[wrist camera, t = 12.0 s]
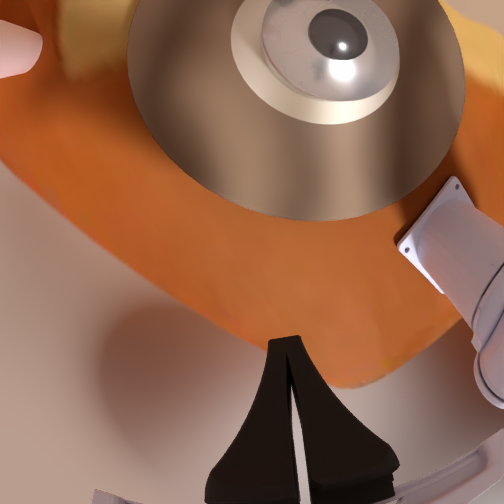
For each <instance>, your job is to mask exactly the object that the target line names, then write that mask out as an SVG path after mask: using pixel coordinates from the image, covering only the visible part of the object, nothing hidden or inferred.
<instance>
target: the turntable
mask: <svg viewBox="0 0 504 504" xmlns="http://www.w3.org/2000/svg"><path fill="white" fill-rule="evenodd" d="M271 1H272V0H140V2H139V4H138V6H137V8H136V11H135V13H134V16H133V19H132V23H131V27H130V31H129V36H128V46H127V66H128V77H129V81H130V86H131V90H132V94H133V98H134V100H135V103H136V105H137V108H138V110H139V112H140V115H141V117H142V119H143V121H144V123H145V124H146V126H147V128H148V129H149V131H150V133H151V134H152V136H153V138H154V139H155V140H156V142H157V143H158V144H159V145H160V147H161V148H162V149H163V150H164V152H165V153H166V154H167V155H168V157H169V158H170V159H172V160H173V161H174V162H175V163H176V164H177V165H178V166H179V167H180V168H181V169H182V170H183V171H184V172H185V173H186V174H188V175H189V176H190V177H192V178H193V179H194V180H196V181H197V182H198V183H200V184H201V185H202V186H204V187H205V188H207V189H208V190H210V191H212V192H214V193H215V194H217V195H219V196H221V197H222V198H224V199H226V200H228V201H230V202H233V203H235V204H237V205H240V206H242V207H244V208H247V209H249V210H253V211H256V212H259V213H263V214H266V215H269V216H274V217H279V218H285V219H291V220H301V221H332V220H342V219H347V218H352V217H358V216H362V215H365V214H368V213H371V212H374V211H377V210H380V209H382V208H384V207H386V206H388V205H390V204H393V203H395V202H397V201H398V200H400V199H401V198H403V197H405V196H406V195H408V194H409V193H411V192H412V191H413V190H415V189H416V188H417V187H418V186H419V185H421V184H422V183H423V182H424V181H425V180H426V179H427V178H428V177H429V176H430V175H431V174H432V173H433V172H434V170H435V169H436V168H437V167H438V166H439V164H440V163H441V161H442V160H443V158H444V157H445V155H446V154H447V152H448V151H449V149H450V147H451V145H452V143H453V141H454V138H455V136H456V134H457V131H458V128H459V125H460V122H461V118H462V113H463V107H464V102H465V72H464V64H463V59H462V54H461V50H460V46H459V43H458V40H457V37H456V34H455V32H454V29H453V27H452V25H451V23H450V21H449V19H448V17H447V15H446V13H445V11H444V9H443V8H442V6H441V5H440V3H439V2H438V0H372V1H373V2H374V3H375V4H376V5H377V6H378V7H379V8H380V9H381V10H382V11H383V12H384V13H385V15H386V16H387V18H388V19H389V21H390V22H391V24H392V26H393V28H394V31H395V33H396V36H397V40H398V45H399V61H398V66H397V69H396V72H395V74H394V76H393V78H392V79H391V81H390V82H389V84H388V85H387V86H386V87H385V88H384V89H382V90H381V91H380V92H378V93H377V94H375V95H373V96H371V97H368V98H365V99H361V100H356V101H343V102H322V101H316V100H312V99H308V98H306V97H303V96H300V95H299V94H297V93H295V92H293V91H291V90H290V89H288V88H287V87H285V86H284V85H283V84H282V83H281V82H279V81H278V79H277V78H276V77H275V76H274V75H273V74H272V73H271V71H270V70H269V68H268V67H267V65H266V63H265V61H264V58H263V56H262V52H261V48H260V33H261V28H262V23H263V18H264V14H265V12H266V9H267V7H268V6H269V4H270V2H271Z"/></svg>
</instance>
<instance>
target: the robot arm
mask: <svg viewBox="0 0 504 504" xmlns="http://www.w3.org/2000/svg"><path fill="white" fill-rule="evenodd" d="M456 184H457V186H456ZM455 186H456V188H455ZM405 248H407V249H406V250H405ZM397 249H398V250H399V251H400V252H401V253H402V254H403V255H404V256H405V257H406V258H407V259H408V260H409V261H410V262H411V263H412V264H413V265H414V266H415V267H416V268H417V269H418V270H419V271H420V272H421V273H422V274H423V275H424V276H425V277H426V278H427V279H428V280H429V281H430V282H431V283H432V284H433V285H434V286H435V287H436V288H437V289H438V290H439V292H440V293H442V294H445V295H446V296H447V297H448V299H449V300H450V301H451V302H452V304H453V305H454V306H455V308H456V309H457V310H458V311H459V313H460V314H461V315H462V317H463V318H464V319H465V321H466V322H467V323H468V325H469V326H470V328H471V329H472V330H473V332H474V336H473V339H472V341H471V343H472V344H473V345H474V347H475V349H476V350H477V352H478V353H477V355H476V357H475V361H474V375H475V380H476V382H477V385H478V387H479V389H480V391H481V392H482V394H483V395H484V397H485V398H486V399H487V400H488V401H489V402H491V403H492V404H493V405H495V406H497V407H499V408H502V409H504V227H503V226H501V225H500V224H499V223H497V222H496V221H494V220H493V219H491V218H490V217H489V216H487V215H486V214H484V213H483V212H481V211H480V210H478V209H477V208H475V206H474V205H473V203H472V201H471V199H470V198H469V196H468V194H467V193H466V191H465V189H464V188H463V186H462V185H461V183H460V181H459V180H458V178H457V177H455V176H451V177H450V178H449V179H448V181H447V182H446V183H445V185H444V186H443V187H442V189H441V190H440V192H439V193H438V194H437V195H436V197H435V198H434V199H433V201H432V202H431V203H430V205H429V206H428V207H427V208H426V210H425V211H424V212H423V213H422V215H421V216H420V217H419V218H418V220H417V221H416V222H415V223H414V224H413V226H412V227H411V228H410V229H409V230H408V232H407V233H406V234H405V235H404V236H403V238H402V239H401V240H400V241H399V242H398V244H397ZM291 386H292V390H293V394H294V398H295V403H296V406H297V411H298V415H299V419H300V423H301V428H302V434H303V442H304V450H305V457H306V466H307V473H308V483H309V492H310V501H311V504H385V503H388V502H391V501H394V500H396V499H399V498H400V499H399V500H398V501H397V503H396V504H469V503H470V502H471V501H473V500H474V499H476V498H477V497H479V496H480V495H481V494H482V493H484V492H485V491H487V490H488V489H489V488H491V487H492V486H493V485H494V484H496V483H497V482H498V481H500V480H501V479H502V478H503V477H504V428H502V429H501V430H499V431H498V432H497V433H495V434H494V435H492V436H491V437H489V438H488V439H486V440H485V441H484V442H482V443H481V444H480V445H478V447H476V448H475V449H473V450H472V451H470V452H468V453H467V454H465V455H463V456H461V457H460V458H458V459H456V460H454V461H452V462H451V463H449V464H447V465H445V466H443V467H441V468H439V469H437V470H435V471H433V472H430V473H428V474H426V475H424V476H422V477H419V478H417V479H415V480H412V481H410V482H407V483H405V484H402V485H399V486H397V487H393V483H392V481H393V480H394V478H393V474H392V473H393V472H394V471H395V470H397V468H398V467H399V466H400V464H399V461H398V458H397V456H396V454H395V453H394V451H393V449H392V448H391V447H390V445H389V444H387V443H386V442H385V441H383V440H382V439H380V438H379V437H378V436H376V435H375V434H374V433H373V432H371V431H370V430H369V429H368V428H367V427H366V426H365V425H363V424H362V423H361V422H360V421H359V420H358V419H357V418H356V417H355V416H354V415H353V414H352V413H351V412H350V411H349V410H348V409H347V408H346V407H345V406H344V405H343V404H342V403H341V401H340V400H339V399H338V398H337V397H336V395H335V394H334V393H333V392H332V390H331V389H330V388H329V386H328V385H327V384H326V382H325V381H324V380H323V378H322V377H321V375H320V374H319V372H318V370H317V369H316V367H315V366H314V364H313V362H312V361H311V359H310V357H309V355H308V353H307V351H306V349H305V347H304V345H303V342H302V340H301V336H299V335H295V336H289V337H283V338H277V339H270V340H269V341H268V352H267V358H266V363H265V368H264V371H263V375H262V379H261V382H260V385H259V388H258V391H257V394H256V397H255V399H254V402H253V404H252V406H251V409H250V411H249V413H248V415H247V418H246V419H245V421H244V423H243V425H242V427H241V429H240V431H239V432H238V434H237V436H236V437H235V439H234V440H233V442H232V444H231V445H230V447H229V448H228V450H227V451H226V453H225V454H224V455H223V457H222V458H221V459H220V460H219V462H218V463H217V464H216V465H215V467H214V468H213V469H212V470H211V472H210V474H209V477H208V479H207V483H206V487H205V503H207V504H300V501H301V500H300V491H299V483H298V474H297V465H296V457H295V449H294V440H293V430H292V401H291V400H292V399H291ZM92 504H142V503H137V502H133V501H129V500H125V499H123V498H121V497H118V496H116V495H112V494H109V493H106V492H103V491H100V490H97V489H95V490H94V494H93V500H92Z"/></svg>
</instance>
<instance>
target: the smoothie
mask: <svg viewBox="0 0 504 504" xmlns="http://www.w3.org/2000/svg"><path fill="white" fill-rule="evenodd" d="M42 45H43V40H42V36H41V35H40V34H39V33H37V32H34V31H31V30H29V29H26V28H23V27H21V26H18V25H15V24H12V23H9V22H6V21H3V20H0V78H4V77H9V76H13V75H18V74H23V73H26V72H27V71H29V70H30V69H31V68H32V67H33V66H34V65H35V63H36V62H37V60H38V58H39V56H40V53H41V50H42Z"/></svg>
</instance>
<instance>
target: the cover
mask: <svg viewBox="0 0 504 504" xmlns="http://www.w3.org/2000/svg"><path fill="white" fill-rule="evenodd" d="M260 48H261V52H262V56H263V58H264V61H265V63H266V65H267V67H268V68H269V70H270V71H271V73H272V74H273V75H274V76H275V77H276V78H277V79H278V81H279V82H281V83H282V84H283V85H284V86H285V87H287V88H288V89H290V90H291V91H293V92H295V93H297V94H299V95H300V96H303V97H306V98H308V99H312V100H316V101H322V102H343V101H356V100H361V99H365V98H368V97H371V96H373V95H375V94H377V93H378V92H380V91H381V90H382V89H384V88H385V87H386V86H387V85H388V84H389V82H390V81H391V79H392V78H393V76H394V74H395V72H396V69H397V66H398V61H399V45H398V40H397V36H396V33H395V31H394V28H393V26H392V24H391V22H390V21H389V19H388V18H387V16H386V15H385V13H384V12H383V11H382V10H381V9H380V8H379V7H378V6H377V5H376V4H375V3H374V2H373V1H372V0H272V1H271V2H270V4H269V6H268V7H267V9H266V12H265V14H264V18H263V23H262V28H261V33H260Z"/></svg>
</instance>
